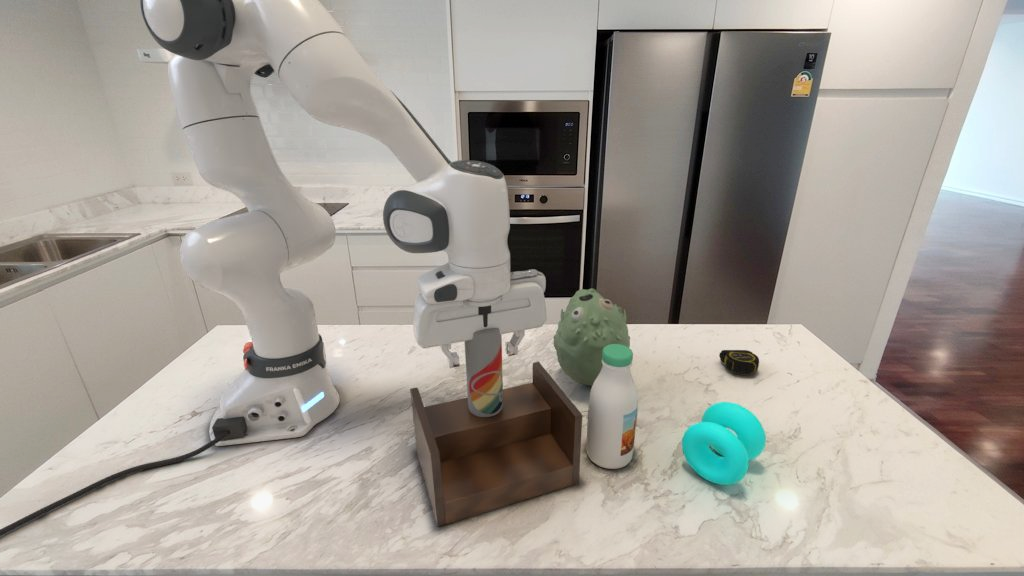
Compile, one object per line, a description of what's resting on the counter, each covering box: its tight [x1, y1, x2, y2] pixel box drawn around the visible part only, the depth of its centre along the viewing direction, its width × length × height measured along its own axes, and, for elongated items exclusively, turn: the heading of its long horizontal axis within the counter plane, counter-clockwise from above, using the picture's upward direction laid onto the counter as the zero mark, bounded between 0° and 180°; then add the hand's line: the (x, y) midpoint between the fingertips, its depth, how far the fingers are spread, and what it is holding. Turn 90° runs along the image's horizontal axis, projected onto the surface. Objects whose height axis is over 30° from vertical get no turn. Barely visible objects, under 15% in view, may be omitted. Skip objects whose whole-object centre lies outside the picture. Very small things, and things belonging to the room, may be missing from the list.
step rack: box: [409, 361, 583, 527], centre depth 76 cm, size 22×16×13 cm
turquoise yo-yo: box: [681, 401, 767, 486], centre depth 76 cm, size 10×10×10 cm
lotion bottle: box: [463, 305, 504, 417], centre depth 74 cm, size 6×6×20 cm
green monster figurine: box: [553, 288, 631, 386], centre depth 98 cm, size 16×19×20 cm
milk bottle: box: [585, 344, 639, 470], centre depth 77 cm, size 8×8×20 cm
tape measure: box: [718, 349, 760, 376], centre depth 104 cm, size 7×7×4 cm
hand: (483, 359), depth 75 cm, fingers open, 8 cm apart
